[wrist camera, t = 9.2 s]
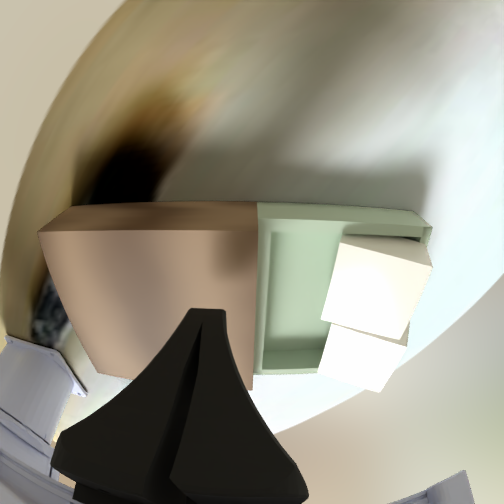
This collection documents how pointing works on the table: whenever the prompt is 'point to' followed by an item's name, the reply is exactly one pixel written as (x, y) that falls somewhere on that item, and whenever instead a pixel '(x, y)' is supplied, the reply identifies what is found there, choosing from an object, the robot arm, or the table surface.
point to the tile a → (361, 356)
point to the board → (153, 276)
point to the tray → (308, 275)
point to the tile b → (377, 283)
